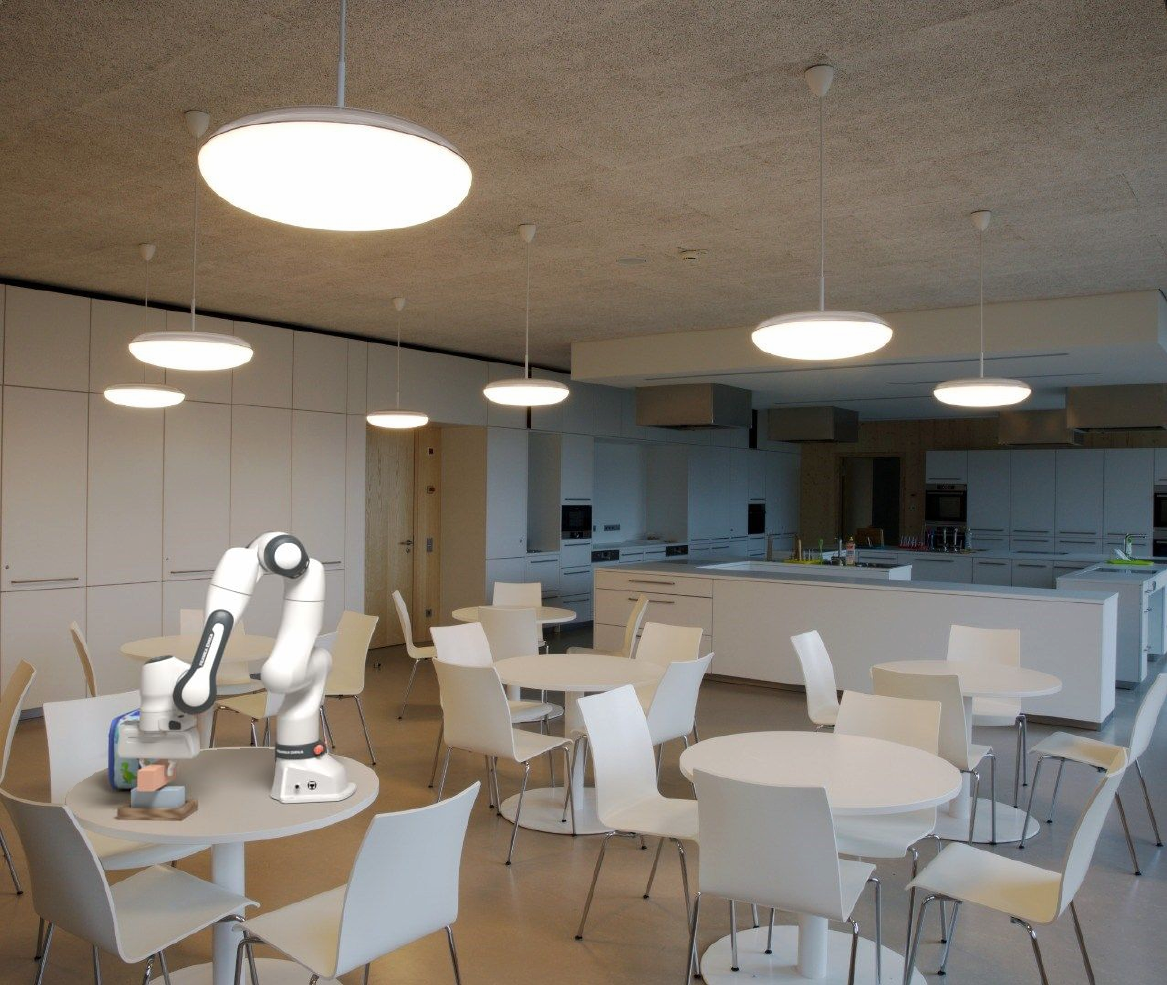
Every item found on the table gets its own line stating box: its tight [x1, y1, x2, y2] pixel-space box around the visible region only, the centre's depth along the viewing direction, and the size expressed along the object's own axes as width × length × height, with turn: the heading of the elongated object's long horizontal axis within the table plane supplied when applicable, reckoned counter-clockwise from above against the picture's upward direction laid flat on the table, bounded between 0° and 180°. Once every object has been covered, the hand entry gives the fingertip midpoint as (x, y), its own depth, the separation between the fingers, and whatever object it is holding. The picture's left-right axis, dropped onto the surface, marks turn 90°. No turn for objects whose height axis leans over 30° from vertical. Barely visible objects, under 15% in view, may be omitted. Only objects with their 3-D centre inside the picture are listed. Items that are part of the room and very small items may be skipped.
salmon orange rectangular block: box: [137, 759, 178, 791], centre depth 235 cm, size 12×4×5 cm, turn 177°
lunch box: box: [107, 707, 160, 790], centre depth 266 cm, size 26×11×21 cm, turn 3°
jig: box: [116, 798, 199, 821], centre depth 235 cm, size 16×8×3 cm, turn 87°
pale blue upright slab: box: [130, 785, 186, 808], centre depth 236 cm, size 12×4×6 cm, turn 85°
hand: (158, 775), depth 236 cm, fingers closed on salmon orange rectangular block, 4 cm apart
